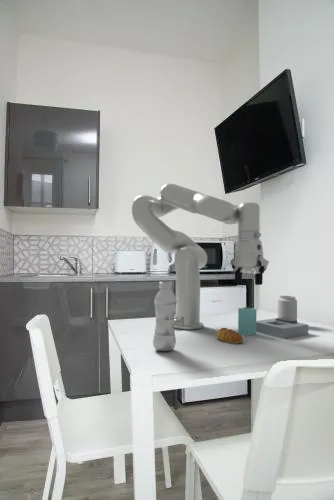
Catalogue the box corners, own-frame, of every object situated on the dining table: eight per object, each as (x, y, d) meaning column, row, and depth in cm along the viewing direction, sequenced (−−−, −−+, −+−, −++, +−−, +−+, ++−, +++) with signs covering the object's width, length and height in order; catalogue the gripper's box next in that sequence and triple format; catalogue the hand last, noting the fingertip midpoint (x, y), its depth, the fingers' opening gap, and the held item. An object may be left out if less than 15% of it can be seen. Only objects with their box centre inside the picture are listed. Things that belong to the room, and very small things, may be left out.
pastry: (248, 343, 105) (248, 331, 105) (233, 346, 102) (233, 334, 102) (228, 337, 113) (228, 326, 113) (213, 339, 109) (213, 328, 110)
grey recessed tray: (284, 338, 111) (284, 326, 111) (252, 330, 123) (252, 319, 123) (308, 334, 119) (308, 322, 119) (276, 326, 130) (276, 316, 131)
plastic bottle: (152, 347, 98) (153, 280, 98) (174, 347, 98) (175, 281, 99) (153, 353, 91) (154, 282, 92) (177, 353, 92) (178, 282, 92)
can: (293, 323, 138) (294, 295, 138) (299, 327, 130) (299, 297, 130) (275, 323, 138) (276, 294, 139) (280, 326, 131) (280, 296, 131)
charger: (247, 335, 115) (247, 309, 115) (238, 332, 119) (238, 307, 119) (256, 334, 118) (256, 308, 118) (246, 331, 121) (247, 306, 122)
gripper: (274, 236, 114) (274, 285, 114) (238, 238, 128) (237, 281, 128) (260, 235, 110) (260, 286, 109) (224, 237, 124) (223, 282, 124)
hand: (248, 283), depth 119 cm, fingers open, 9 cm apart
